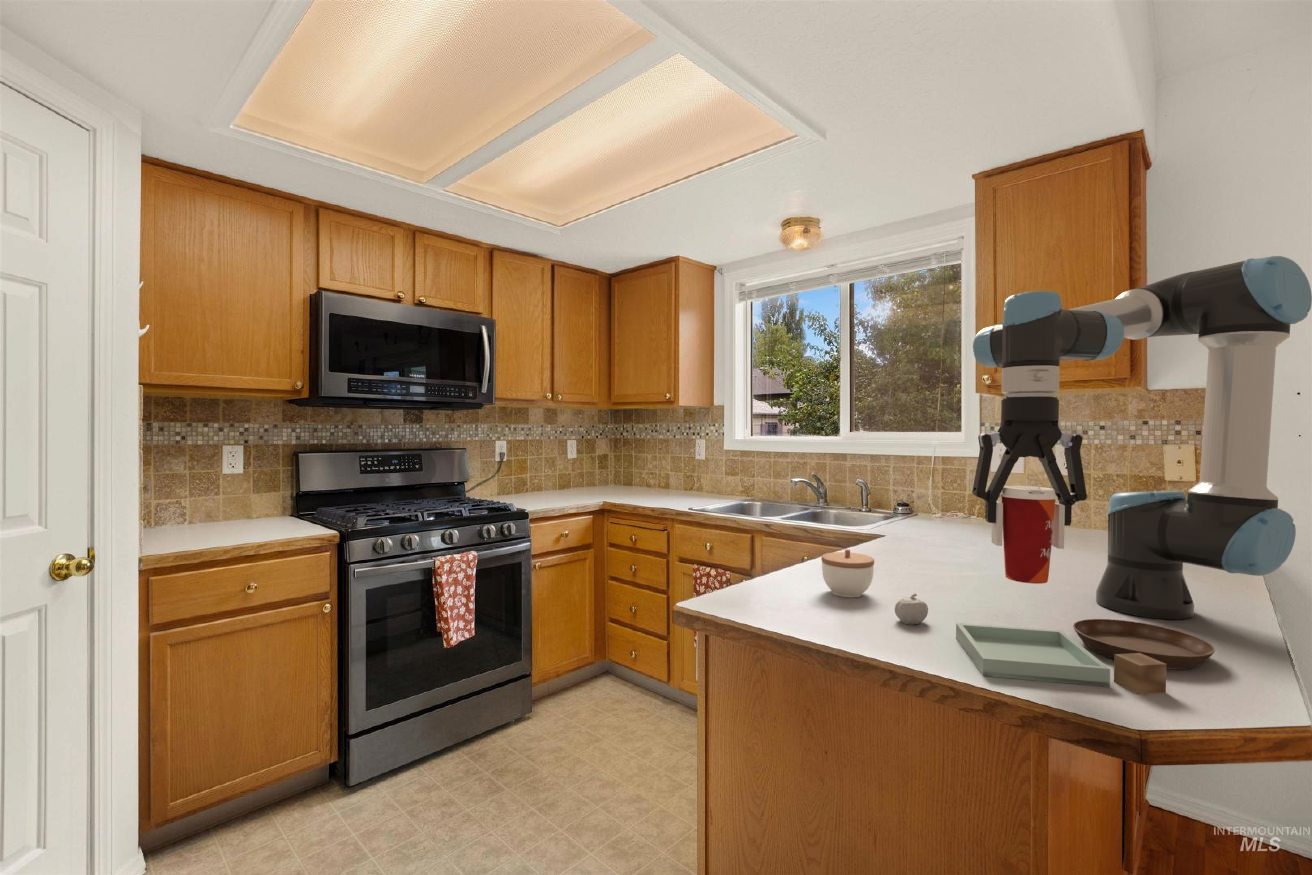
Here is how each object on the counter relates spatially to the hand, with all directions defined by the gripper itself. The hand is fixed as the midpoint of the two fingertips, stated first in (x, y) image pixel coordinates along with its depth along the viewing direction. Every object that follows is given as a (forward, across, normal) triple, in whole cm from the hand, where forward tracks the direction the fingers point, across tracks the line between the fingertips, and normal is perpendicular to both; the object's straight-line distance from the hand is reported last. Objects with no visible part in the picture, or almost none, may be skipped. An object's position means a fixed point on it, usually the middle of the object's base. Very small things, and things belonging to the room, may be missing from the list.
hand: (1026, 545), depth 94 cm
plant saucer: (+18, +19, +8) cm, 28 cm away
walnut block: (+18, +12, -7) cm, 23 cm away
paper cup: (+5, 0, 0) cm, 5 cm away
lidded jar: (+18, -24, +32) cm, 44 cm away
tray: (+18, 0, 0) cm, 18 cm away
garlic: (+18, -14, +15) cm, 27 cm away
